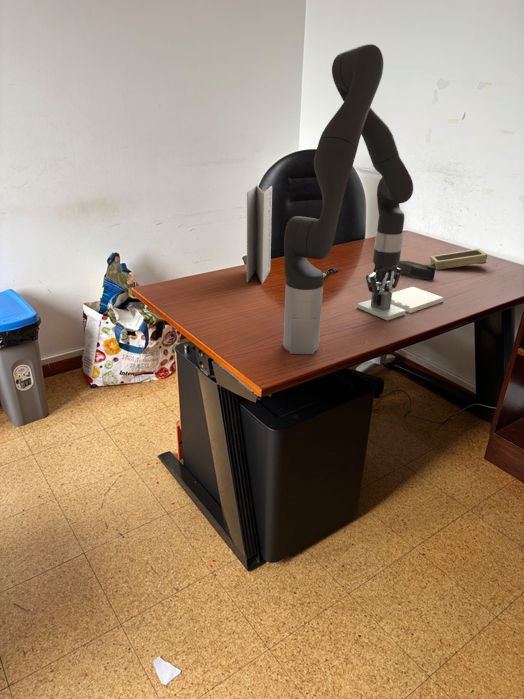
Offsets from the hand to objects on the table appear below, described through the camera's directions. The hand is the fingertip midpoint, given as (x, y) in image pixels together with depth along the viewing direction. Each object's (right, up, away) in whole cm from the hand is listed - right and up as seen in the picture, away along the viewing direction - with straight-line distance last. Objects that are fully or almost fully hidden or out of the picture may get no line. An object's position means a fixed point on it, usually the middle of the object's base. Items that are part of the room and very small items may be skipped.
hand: (380, 303), depth 157 cm
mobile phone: (+19, +13, +32) cm, 39 cm away
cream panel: (+12, +2, +9) cm, 15 cm away
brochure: (-37, +12, +29) cm, 48 cm away
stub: (0, -2, +1) cm, 2 cm away
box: (+37, +17, +42) cm, 58 cm away
